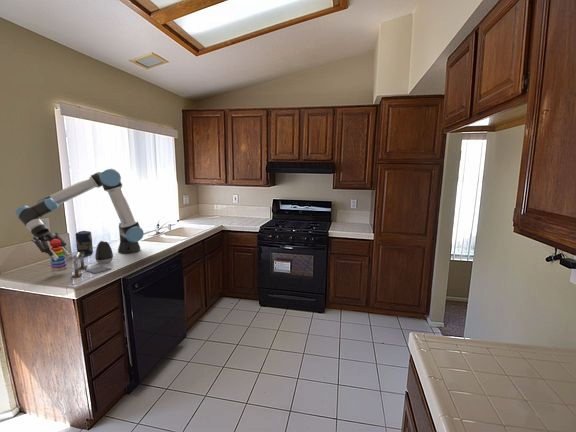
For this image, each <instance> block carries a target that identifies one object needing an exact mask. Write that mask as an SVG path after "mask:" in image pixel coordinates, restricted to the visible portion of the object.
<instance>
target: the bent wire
mask: <svg viewBox="0 0 576 432" xmlns="http://www.w3.org/2000/svg"><path fill="white" fill-rule="evenodd" d="M78 261H80V266H79V263H78ZM73 268H74V273H73V274H72V275H71V278H72V279H77V278H81V277H82V276H83V273H82V272H80V273H79V271H85V270H87V269H88V265H85V260H84V256H83V254H81V253H79V252H77V251H76V254H75V258H74V260H73Z"/></svg>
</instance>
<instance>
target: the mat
mask: <svg viewBox="0 0 576 432" xmlns="http://www.w3.org/2000/svg"><path fill="white" fill-rule="evenodd" d="M108 270H109V271H111V270H112V267H108V266H105V265H99V266H95V267H92V268H87V269H86V270H84V272H86V273H88V274H91V275H97V274H101V273H105V272H107V271H108Z"/></svg>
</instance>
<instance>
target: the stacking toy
mask: <svg viewBox="0 0 576 432" xmlns="http://www.w3.org/2000/svg"><path fill="white" fill-rule="evenodd" d="M49 245H50V247H51V248H50V250H51V249H52V250H53V251H54V252H55V254H56V255H57V256H58V257H59V258H58V259H57V261H55V260H54V259H53V257H52V256H50V257H51V258H50V260H51V261H50V264H51V265H50V270H51V272H63V271H65V270H67V269H68V268H69V266H68V262H67V260H66V256H65V255H64V254H63V253H62V252H63V250H61V249H62V247H61V246H60V245H61V241H60V240H59V239H53V240H51V242H49Z"/></svg>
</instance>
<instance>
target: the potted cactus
mask: <svg viewBox="0 0 576 432" xmlns="http://www.w3.org/2000/svg"><path fill="white" fill-rule="evenodd" d="M113 258H114V254H113V250H112V248H111V246H110V243H109V242H108V241H107V240H100V241H99V242H98V244H97V246H96V249H95V260H96V262H97V263H98V264H100V265H106V264H109V263H111V262H112V261H113Z"/></svg>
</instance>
